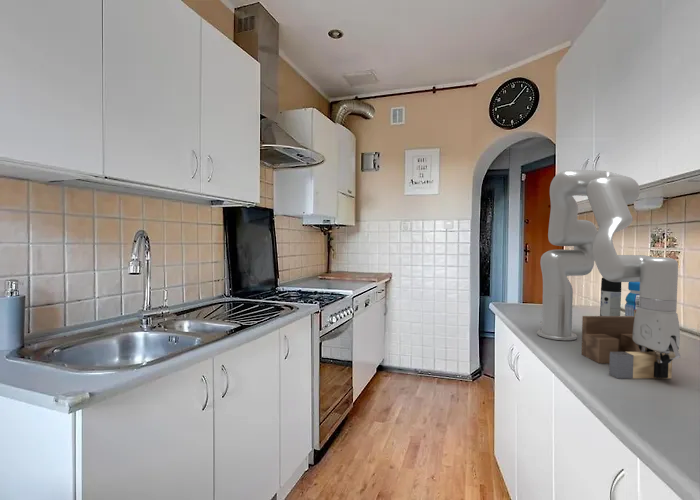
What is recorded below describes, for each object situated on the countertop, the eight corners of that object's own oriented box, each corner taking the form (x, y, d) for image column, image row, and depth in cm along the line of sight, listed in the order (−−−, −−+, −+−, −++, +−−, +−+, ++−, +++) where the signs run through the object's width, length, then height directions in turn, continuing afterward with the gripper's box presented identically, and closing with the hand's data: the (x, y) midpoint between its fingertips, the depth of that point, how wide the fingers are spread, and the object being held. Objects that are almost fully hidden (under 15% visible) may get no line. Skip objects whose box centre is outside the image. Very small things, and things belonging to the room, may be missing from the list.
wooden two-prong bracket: (581, 354, 115) (582, 316, 115) (633, 354, 116) (634, 316, 115) (598, 363, 107) (600, 322, 107) (654, 363, 108) (655, 322, 107)
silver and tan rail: (617, 378, 96) (618, 355, 96) (609, 374, 99) (609, 351, 99) (671, 378, 96) (672, 355, 96) (661, 373, 99) (662, 351, 99)
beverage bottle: (618, 334, 139) (620, 281, 138) (634, 332, 142) (635, 280, 141) (642, 340, 131) (644, 283, 130) (658, 338, 134) (660, 282, 133)
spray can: (600, 325, 153) (601, 276, 153) (620, 328, 149) (622, 278, 148) (598, 328, 148) (600, 278, 147) (619, 331, 144) (621, 279, 143)
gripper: (620, 299, 105) (617, 364, 106) (670, 311, 89) (667, 387, 89) (646, 299, 105) (644, 364, 106) (701, 311, 89) (698, 387, 89)
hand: (654, 374), depth 98 cm, fingers closed on silver and tan rail, 3 cm apart
